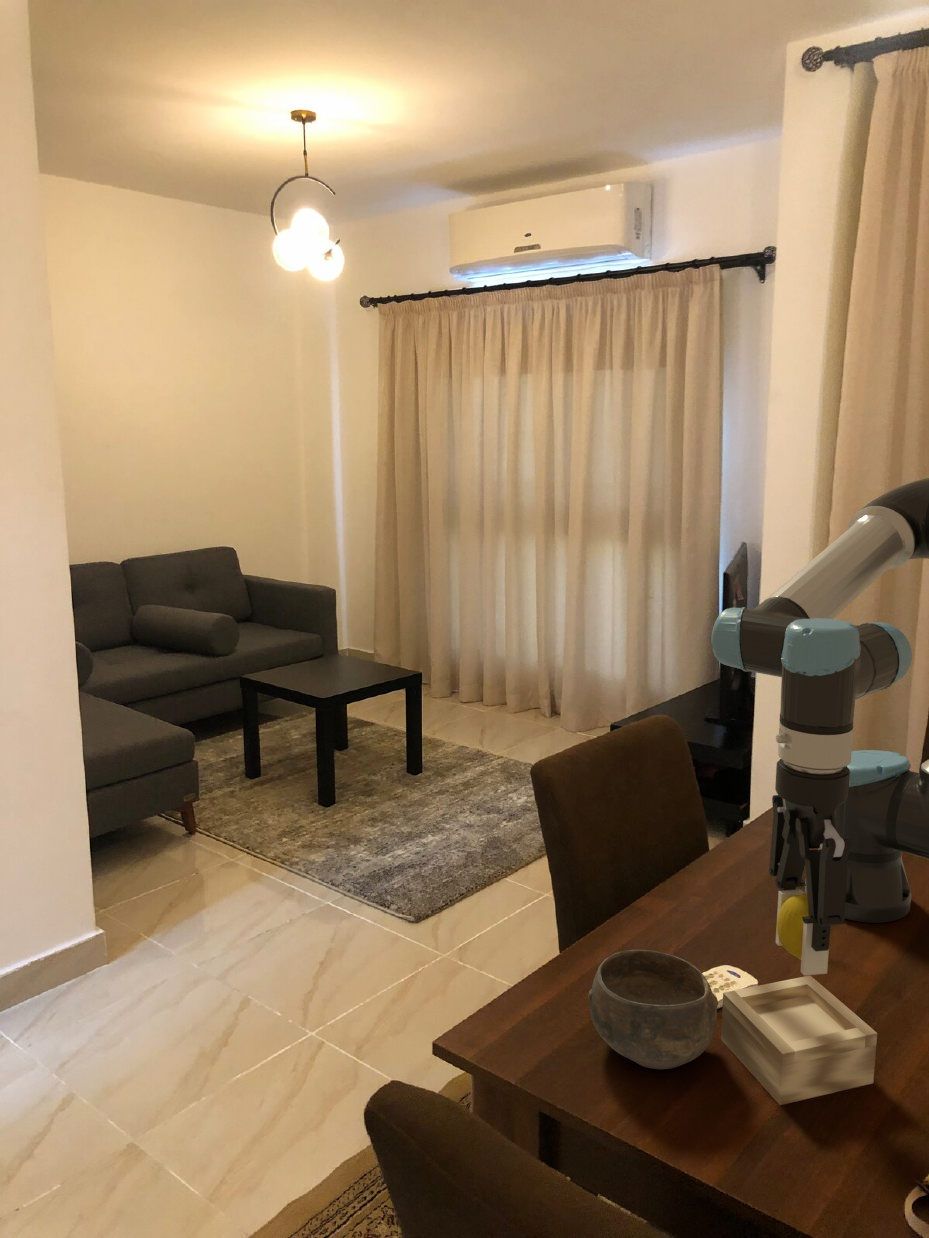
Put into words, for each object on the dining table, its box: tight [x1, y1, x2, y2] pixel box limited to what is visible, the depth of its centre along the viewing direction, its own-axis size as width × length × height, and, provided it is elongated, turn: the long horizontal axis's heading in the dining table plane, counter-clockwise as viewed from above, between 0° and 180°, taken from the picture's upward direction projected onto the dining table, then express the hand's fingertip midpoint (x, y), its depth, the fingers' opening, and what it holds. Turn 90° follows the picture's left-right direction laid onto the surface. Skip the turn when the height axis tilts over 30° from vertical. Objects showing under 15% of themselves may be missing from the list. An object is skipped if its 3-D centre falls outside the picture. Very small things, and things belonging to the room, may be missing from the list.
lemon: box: [776, 892, 809, 961], centre depth 109 cm, size 6×6×8 cm
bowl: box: [587, 949, 719, 1070], centre depth 114 cm, size 14×15×10 cm
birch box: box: [720, 975, 878, 1106], centre depth 112 cm, size 12×12×6 cm
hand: (800, 957), depth 110 cm, fingers closed on lemon, 5 cm apart
